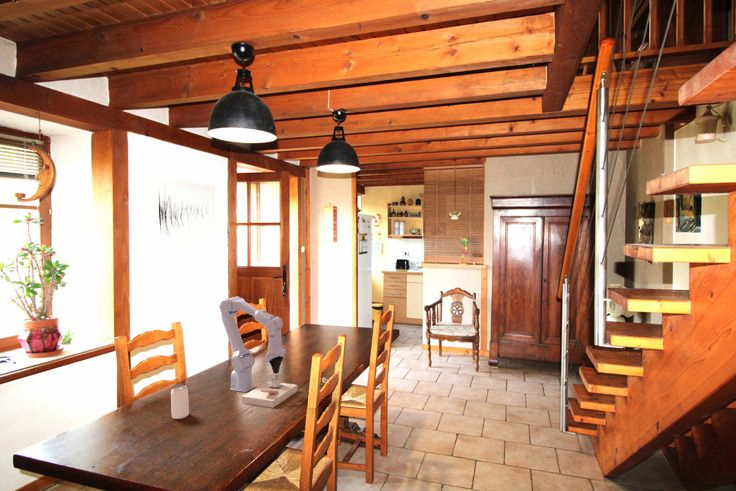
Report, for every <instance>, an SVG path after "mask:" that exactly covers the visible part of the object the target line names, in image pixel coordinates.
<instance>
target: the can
mask: <svg viewBox="0 0 736 491" xmlns="http://www.w3.org/2000/svg"><path fill="white" fill-rule="evenodd" d="M170 403H171V404H170V405H171V408H170V409H171V417H172V419H174V420H181V419H185V418H188V416H189V413H190V410H189V409H190V407H189V406H190V405H189V404H190V403H189V389H188V386H187V385H186V384H177V385H175V386H173V387H171V391H170Z"/></svg>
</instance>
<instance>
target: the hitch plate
mask: <svg viewBox="0 0 736 491" xmlns="http://www.w3.org/2000/svg"><path fill="white" fill-rule="evenodd" d="M280 383H281V388H280V389H272V381H270V380H269V381H268V380H267V381H265V382H264V383H262V384H261V385H259V386H258V387H257V386H256V387H255V388H253V389H251V391H250V390H249V391H248V392H246V393H245V394H243V395H242V396H241V404H244V405H251V406H258V407H266V408H272V409H274V408H275V407H277V406H278V405H279V404H281V403H282V402H284V401H285V400H287V399H288V398H290V397H291V396H293V395H294V394H296V393H297V392H298V384H294V383H285V382H280ZM261 390H273V391H278V393H267V392H261Z"/></svg>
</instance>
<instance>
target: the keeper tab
mask: <svg viewBox="0 0 736 491" xmlns="http://www.w3.org/2000/svg"><path fill="white" fill-rule="evenodd" d="M261 392H267V393H278V391H273V390H261Z"/></svg>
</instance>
